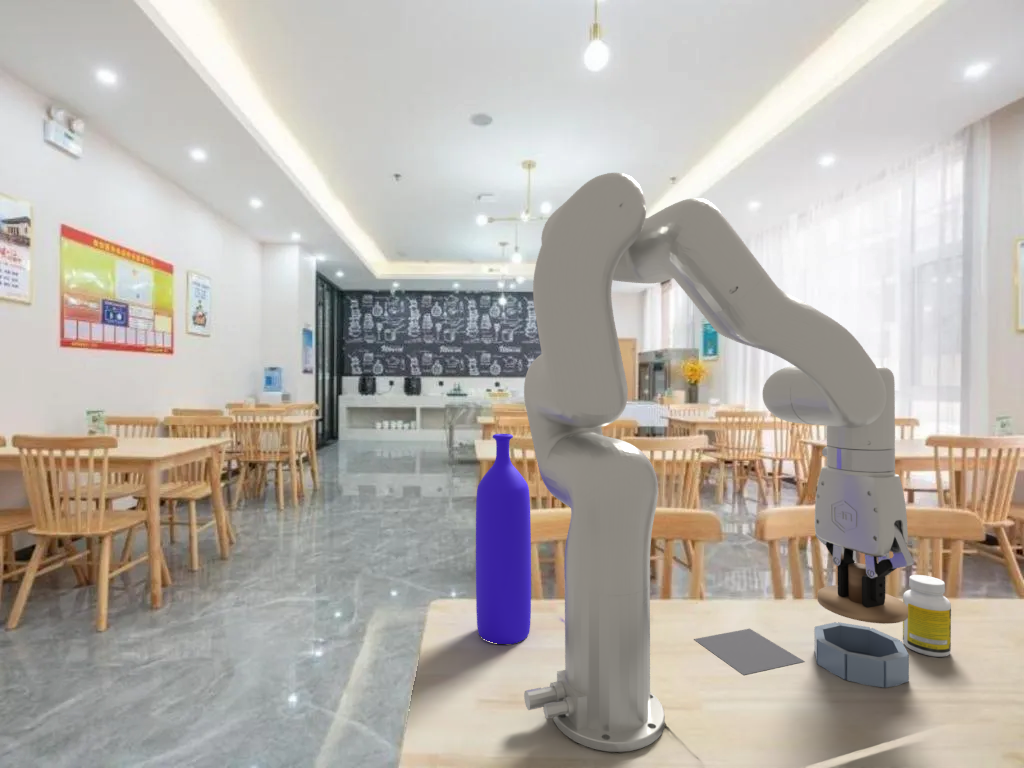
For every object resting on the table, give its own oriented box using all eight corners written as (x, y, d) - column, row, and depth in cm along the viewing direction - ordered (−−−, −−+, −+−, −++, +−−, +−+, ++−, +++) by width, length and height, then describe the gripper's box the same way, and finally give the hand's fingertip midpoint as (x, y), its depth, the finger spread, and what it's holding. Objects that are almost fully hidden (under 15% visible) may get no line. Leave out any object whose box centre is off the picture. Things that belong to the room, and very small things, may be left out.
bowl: (868, 699, 65) (868, 666, 65) (798, 659, 74) (798, 630, 74) (925, 683, 68) (925, 651, 68) (851, 646, 78) (851, 618, 78)
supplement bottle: (959, 660, 74) (960, 588, 73) (914, 656, 75) (914, 585, 75) (937, 641, 79) (937, 573, 79) (895, 637, 80) (895, 571, 80)
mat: (743, 679, 69) (743, 674, 69) (693, 643, 79) (693, 639, 79) (804, 665, 72) (804, 661, 72) (749, 632, 82) (749, 628, 82)
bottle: (541, 629, 83) (540, 433, 83) (512, 652, 76) (511, 438, 76) (496, 616, 88) (495, 430, 87) (465, 637, 81) (463, 435, 80)
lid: (868, 629, 65) (868, 585, 65) (800, 597, 75) (799, 559, 74) (927, 616, 68) (927, 574, 68) (854, 587, 78) (854, 550, 78)
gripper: (787, 454, 78) (788, 582, 78) (901, 472, 62) (902, 632, 62) (827, 451, 80) (828, 575, 80) (946, 468, 65) (947, 622, 65)
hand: (860, 599), depth 71 cm, fingers closed on lid, 2 cm apart
